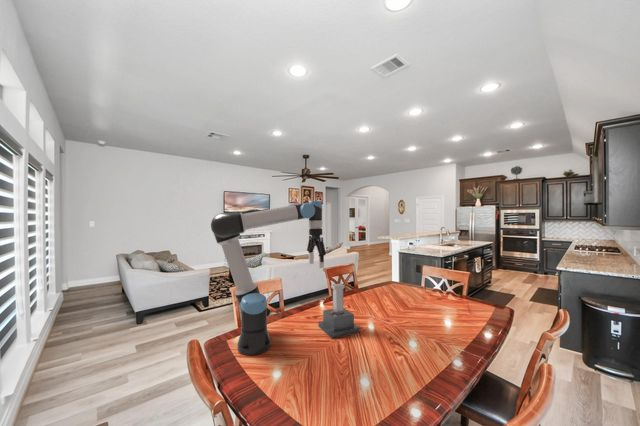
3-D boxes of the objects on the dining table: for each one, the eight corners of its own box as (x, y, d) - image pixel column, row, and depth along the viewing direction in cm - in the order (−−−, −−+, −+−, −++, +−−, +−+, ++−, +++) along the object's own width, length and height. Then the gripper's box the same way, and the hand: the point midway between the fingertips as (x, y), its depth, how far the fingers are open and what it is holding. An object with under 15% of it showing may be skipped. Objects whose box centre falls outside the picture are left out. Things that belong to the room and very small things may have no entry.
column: (335, 332, 138) (334, 286, 138) (331, 328, 142) (331, 284, 142) (345, 329, 140) (344, 285, 141) (341, 326, 144) (340, 283, 145)
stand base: (331, 338, 131) (331, 318, 131) (318, 326, 145) (318, 308, 145) (359, 332, 137) (359, 313, 137) (344, 321, 152) (343, 304, 152)
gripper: (331, 228, 140) (332, 269, 140) (312, 227, 162) (313, 261, 162) (319, 229, 137) (319, 270, 137) (301, 227, 159) (301, 262, 159)
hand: (316, 265), depth 149 cm, fingers open, 13 cm apart
